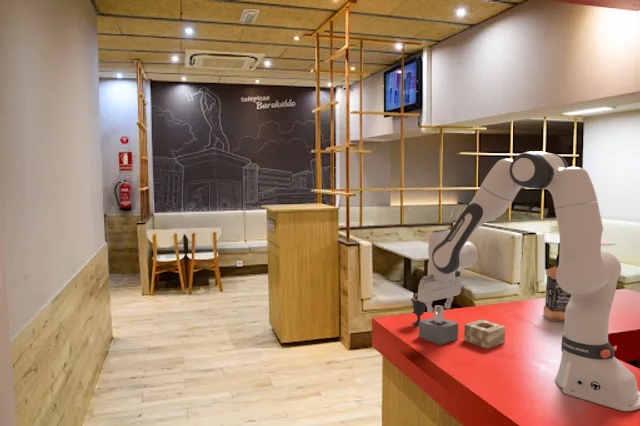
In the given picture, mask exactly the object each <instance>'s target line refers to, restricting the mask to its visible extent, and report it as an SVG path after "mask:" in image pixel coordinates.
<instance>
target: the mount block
mask: <svg viewBox="0 0 640 426" xmlns="http://www.w3.org/2000/svg"><path fill="white" fill-rule="evenodd" d="M463 331H464V333H463V341H465V342H468V343H471V344H473V345H475V346H479V347H482V348H485V349H487V350H488V349H491V348H493V347H497V346H500V345H502V344H505V341H506V326H505V325H502V324H498V323H495V322H493V321H492V322H491V321H488V320H484V319H478V320H474V321H471V322H468V323H465V324H464V330H463Z"/></svg>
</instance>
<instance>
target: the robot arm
mask: <svg viewBox="0 0 640 426" xmlns="http://www.w3.org/2000/svg"><path fill="white" fill-rule="evenodd" d="M522 188H526V189H537V190H547V191H549V193H550V194H551V197H552V201H553V205H554V206H553V207H554V213H555V216H556V223H557V228H558V235H559V243H560V252H559V265H558V268H557V270H556V281H557V283H558V285H559V286H560V288H561V289H562V290H564V291H565V292H567V293H569V294H571V297H570V300H569V303H568V305H567V306H566V309H565V322H564V327H563V328H564V329H563V334H562V336H561V345H560V346H561V350H560V351H561V359H560V363H559V368H558V370H557V371H558V372H557V373H556V376H555V378H554V381H555V383H556V384H557V385H558V386H559V387H560V389H561V390H562V393H564V394H565V395H568V396H572V397H575V398H578V399H582V400H584V401H588V402H590V403H591V402H592V403H594V404H598V405H601V406H605V407H608V408H611V409H614V410H618V411H621V412H632V411H635V410H639V409H640V391H639V390H638V383H637V380H636V379H637V378H636V376H635V374H634V373H633V372H631V371H630V370H629V369H628V368H627V367H626V366H625V365H624V364H623V363H622V362H621V361H620V360H619V359H617V358H616V357H615V352H616V351H617V348H618V345H614V346H613V345H612V344H611V343H610V341H609V326H610V314H611V310H612V306H613V302H614V298H615V294H616V290H617V285H618V281H619V278H620V275H621V271H622V265H621V263H620V261H619V259H618V258H617V257H616V256H615V255H614V254H612V253H610V252H608V251H603V250H601V249H602V247H601V246H602V236H603V231H604V226H603V222H602V217H601V211H600V207H599V202H598V198H597V194H596V190H595V187H594V184H593V182H592V179H591V177H590V175H589V173H588V171H587V170H586V169H585V168H582V167H578V166H569V165H568V162H567V161H566V159H565V158H564V157H563V156H561V155H559V154H556V153H553V152H546V151H542V150H540V151H537V150H535V151H525V152H522V153H519V154H518V155H516V156H515V157H514V158H513V159H512V158H502V159H500V160H498V161H497V162H495V164H494V165H493V166H492V168H491V169H490V170H489V172H488V173H487V175H486V176H485V178H484V179H483V181H482V183H481V185H480V186H479V188H478V190H477V192H476V194H475V195H474V196H473V198H472V199H471V201H470V202H469V204H467V206H466V207H465V209H464V210H463V212H462V213H461V214H460V216H459V217H458V218H457V220H456V221H455V223H454V225H453V226H452V228H451V229H439V230H434V231H432V232H431V233H430V235H429V238H428V248H427V251H428V252H427V255H428V263H427V275H424V276H422V278H421V279H420V280H419V284H418V287H417V288H418V289H417V293H418V300H419V301H420V302H424V303H425V307H426V310H427V313H429V314H432V313H435V307H433V306H432V304H433V302H434V301H439V300H443V299H446V302H445V303H444V306H443V307H444V308H445V309H451V307H452V302H453V301H454V297H455V296H459V295H460V294H461V292H462V278H461V277H462V271H461V270H465V269H467V268H468V269H469V268H470V267H472V266H475V265H476V264H477V262H479V261H478V260H479V257H480V256H479V255H480V254H479V249H478V247H477V246H476V245H475V243H474V242H472V241H470V240H469V239H470V238H471V236H472V235H473V233H474V232H475V231H476V230H477V229H478V228H479V227H481V226H482V225H484V224H486V223H487V222H490V221H492V220H495V219H497V218H499V217H501V216H503V215H504V213H505V212H506V211H507V210H508V209H509V208H510V207H511V205H512V204H513V201H514V200H515V198H516V196H517V195H518V193H519V192H520V190H521V189H522Z"/></svg>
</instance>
